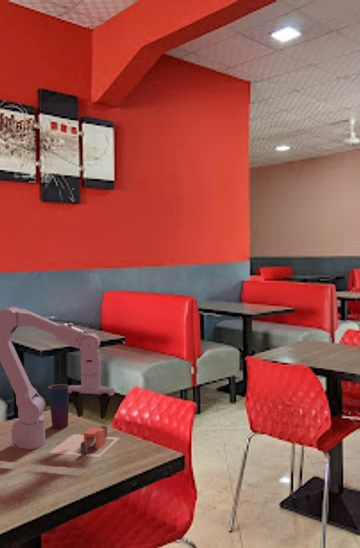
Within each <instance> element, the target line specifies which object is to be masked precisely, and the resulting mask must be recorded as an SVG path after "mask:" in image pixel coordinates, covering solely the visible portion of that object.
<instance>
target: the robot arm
mask: <svg viewBox="0 0 360 548" xmlns="http://www.w3.org/2000/svg"><path fill="white" fill-rule="evenodd" d="M23 327H32V328H35V329H38V330H41V331H43V332H47V333H49V334H52V335H54V336H55V338H56V340H57V341H58V342H61V343H63V344H66V345H68V346H71V347H72V348H75V349H79V351H80V377H81V378H80V380H81V382H80V384H78V385H77V384H75V385H74V384H72V385H71V384H70V385H69V387H68V393H69V400H71V402H72V403H73V406H74V407H75V411H76V413H77V417H78V418H81V417H82V416H83V415H84V396H85V394H92V395H99V396H98V398H97V399H98V402H99V408H100V409H99V412H100V413H99V415H100V419H101V420H104V419H105V418H106V416H107V411H108V407H109V404H110V401H111V399H112V397H113V396H114V395H115V387H110V386H104V385H101V361H100V349H99V347H100V345H101V338H100V336H99V335H97V334H96V333H95V332H94V331H93V332H92V331H88V330H87V329H84V330H83V329H81V328H79V327H76V326H74V324H73V323H72V322H68V323H67V322H64V323H61V324H58V323H56V322H54V321H51V320H50V319H47V318H45V317H43V316H41V315H38V314H37V313H34V312H33V311H30V310H28V309H25V308H20V307H18V306H16V305H11V306H9V307H7V308H5V309H1V310H0V364H1V366H2V368H3V370H4V372H5V374H6V377H7V379H8V381H9V383H10V385H11V387H12V390H13V392H14V394H15V404H16V406H17V410H18V411H17V416H18V418H19V419H16V420H15V421H14V422H13V424H12V426H11V447H12V448H20V449H26V450H34V449H39V448H42V447H43V446H45V445H46V422H45V420H46V419H45V416H44V413H43V412H44V410H45V409H46V400H45V399H44V398H43V397H42V396H41V395H40V394H39V393H38V391H37V389H36V388H35V387H33V385H32V384H31V382H30V379H29V376H28V375H27V373H26V370H25V368H24V366H23V364H22V361H21V360H20V358H19V355H18V353H17V351H16V349H15V346H14V345H13V342H12V338H13V336H14V334H15V332H16V330H17V329H18V328H23Z"/></svg>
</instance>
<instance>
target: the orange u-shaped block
mask: <svg viewBox="0 0 360 548" xmlns="http://www.w3.org/2000/svg"><path fill="white" fill-rule="evenodd" d="M83 435H84V442H85V441H86V440H87V439H89V438H90V437H96V438H94V439H95V441H94V439H93V440H92V441H90V442H89V443H88V448H89V447H90V446H92V445H93V444H94V443H95V450H100V449H101V448H102V447H103V446H104V445H106V439H105V429H102V428H101V427H99V428H98V427H89V429H87V430H86V431H85V432H84V433H83Z"/></svg>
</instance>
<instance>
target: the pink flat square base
mask: <svg viewBox="0 0 360 548" xmlns="http://www.w3.org/2000/svg"><path fill="white" fill-rule="evenodd" d="M100 428H102V429H105V440H111V441H112V442H110V443H109V444H108V445H107V446H106V447H105V448H104V449H103V450H102V451H101V452H100V453H98V454H97V453H89V447H88V443H89V442H90V441H92V440H93V439H96V437H90V438H89V439H87V440H86V441H85V442H84V434H79V433H77V434H76V433H73V434H72V435H70V436H69V437H68V438H66V439H65V440H64V441H62V442H61V443H59V445H57V446H55V448H53V449H51V450H50V451H49V452H48V454H56V455H58V454H60V455H68V456H77V457H78V456H80V457H89V458H90V457H91V458H100V457H102V455H104V454H105V453H106V452H107V451H108V450H109V449H110V448H111V447H112V446H113V445H114V444H115V443H116V442H117V441H119V440H120V439H121V437H118V436H117V437H116V436H113V437H112V436H108V426H107V425H102V426H101V427H100ZM79 448H80V452H76V451H77V450H78V449H79Z"/></svg>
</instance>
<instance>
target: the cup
mask: <svg viewBox="0 0 360 548" xmlns="http://www.w3.org/2000/svg"><path fill="white" fill-rule="evenodd" d="M69 386H70V385H69V384H66V383H58V384H52V385H48V397H49V398H48V399H49V408H50V417H51V419H50V420H51V427H52V429H56V430H62V429H66V428H68V427H69V411H70V410H69V405H70V393H68V387H69Z"/></svg>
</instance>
